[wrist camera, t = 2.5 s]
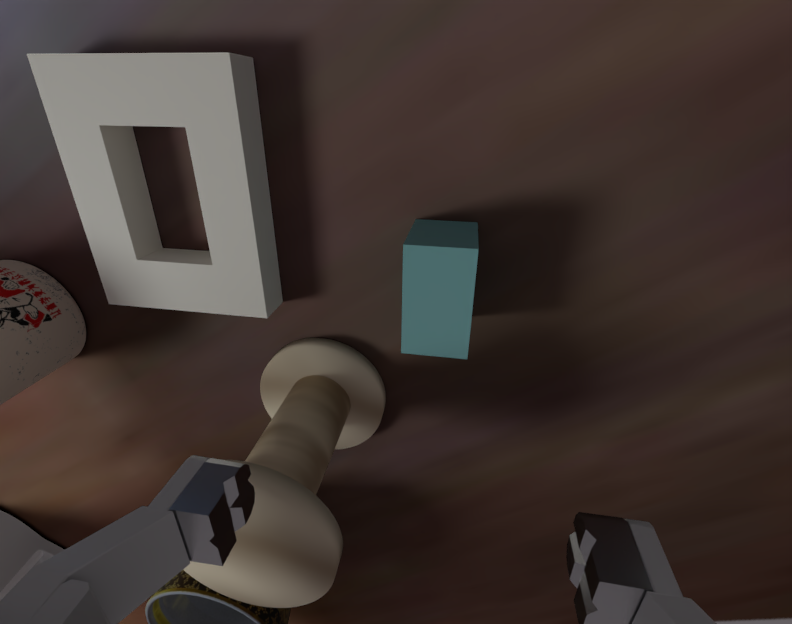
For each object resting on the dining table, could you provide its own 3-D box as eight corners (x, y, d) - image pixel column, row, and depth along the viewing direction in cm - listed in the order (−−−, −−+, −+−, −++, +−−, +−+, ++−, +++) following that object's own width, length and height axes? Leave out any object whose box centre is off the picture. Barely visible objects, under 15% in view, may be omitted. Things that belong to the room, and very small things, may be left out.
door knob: (385, 444, 32) (340, 621, 21) (275, 430, 33) (177, 590, 22) (385, 343, 28) (329, 497, 17) (259, 331, 29) (132, 467, 18)
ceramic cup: (209, 466, 37) (125, 582, 28) (317, 478, 35) (265, 605, 26) (239, 560, 42) (177, 681, 34) (333, 574, 41) (295, 705, 32)
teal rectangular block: (468, 316, 26) (467, 359, 22) (413, 312, 27) (401, 352, 22) (477, 221, 24) (478, 249, 19) (416, 219, 24) (403, 244, 20)
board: (282, 301, 28) (267, 318, 26) (135, 289, 29) (108, 304, 27) (253, 57, 22) (229, 52, 20) (67, 58, 23) (26, 53, 21)
